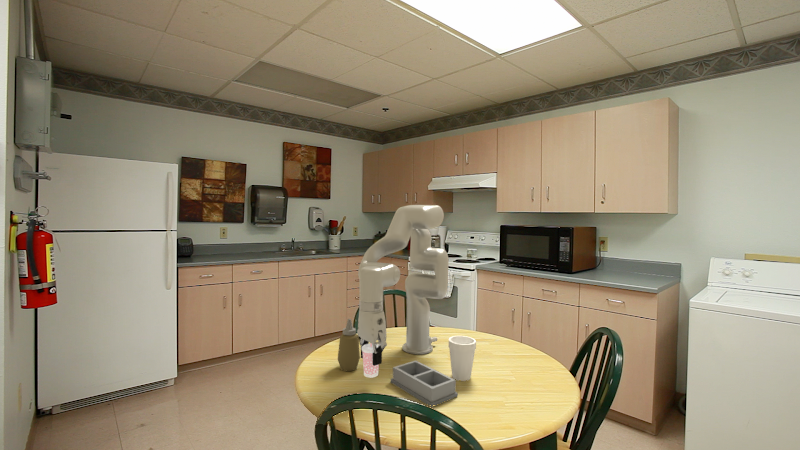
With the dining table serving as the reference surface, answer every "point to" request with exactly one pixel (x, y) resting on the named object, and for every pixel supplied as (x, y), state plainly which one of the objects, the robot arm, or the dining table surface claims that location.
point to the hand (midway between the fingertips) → (371, 360)
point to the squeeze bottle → (349, 348)
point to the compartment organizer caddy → (424, 383)
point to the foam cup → (462, 356)
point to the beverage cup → (369, 361)
